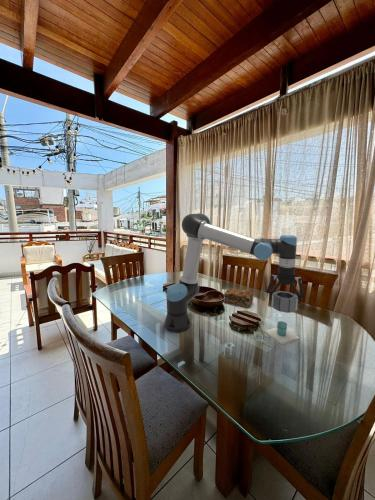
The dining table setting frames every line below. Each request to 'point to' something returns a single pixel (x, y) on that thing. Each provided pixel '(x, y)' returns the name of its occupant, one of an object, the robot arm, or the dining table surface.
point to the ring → (284, 301)
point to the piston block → (281, 333)
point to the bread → (239, 297)
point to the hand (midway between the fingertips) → (283, 307)
